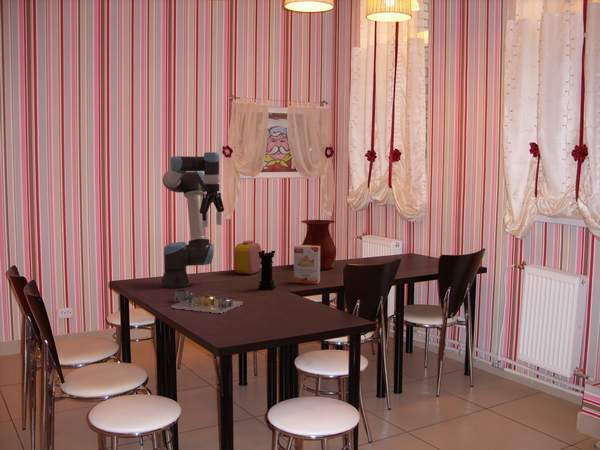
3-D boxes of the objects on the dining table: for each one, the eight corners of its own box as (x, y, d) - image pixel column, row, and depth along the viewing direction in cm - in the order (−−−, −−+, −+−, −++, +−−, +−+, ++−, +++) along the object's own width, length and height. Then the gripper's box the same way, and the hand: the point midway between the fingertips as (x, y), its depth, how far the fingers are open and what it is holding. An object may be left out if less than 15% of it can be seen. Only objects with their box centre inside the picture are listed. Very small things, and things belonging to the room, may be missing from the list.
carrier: (171, 308, 301) (171, 296, 300) (195, 300, 319) (195, 288, 318) (220, 313, 290) (220, 301, 290) (242, 304, 308) (242, 293, 308)
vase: (334, 265, 427) (334, 219, 424) (338, 271, 403) (339, 222, 401) (298, 265, 425) (298, 219, 422) (300, 271, 402) (301, 223, 399)
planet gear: (171, 301, 315) (170, 291, 315) (180, 298, 322) (179, 288, 322) (184, 303, 312) (184, 292, 312) (193, 299, 319) (192, 289, 319)
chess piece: (272, 290, 343) (272, 252, 341) (257, 289, 345) (257, 252, 343) (275, 287, 351) (275, 250, 349) (261, 286, 352) (261, 250, 350)
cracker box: (293, 283, 363) (293, 246, 361) (296, 281, 369) (296, 244, 367) (318, 284, 360) (318, 246, 358) (320, 282, 366) (320, 245, 364)
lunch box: (245, 270, 406) (245, 239, 405) (262, 271, 403) (262, 240, 401) (233, 275, 389) (233, 242, 387) (250, 276, 386) (250, 243, 384)
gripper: (205, 184, 312) (206, 228, 314) (230, 182, 335) (230, 224, 337) (191, 184, 315) (192, 227, 317) (217, 182, 338) (218, 223, 340)
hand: (212, 225), depth 327 cm, fingers open, 13 cm apart
